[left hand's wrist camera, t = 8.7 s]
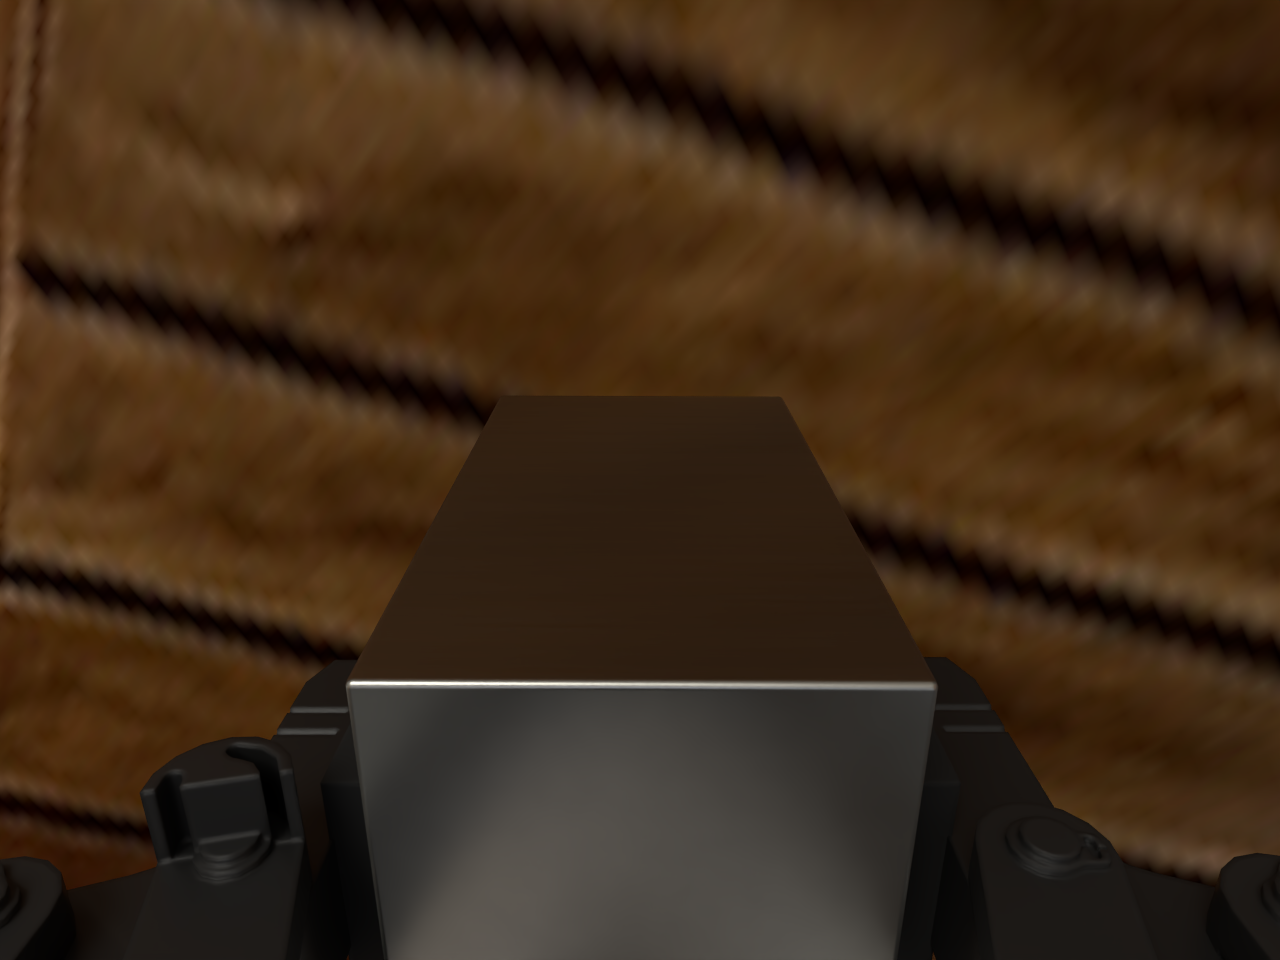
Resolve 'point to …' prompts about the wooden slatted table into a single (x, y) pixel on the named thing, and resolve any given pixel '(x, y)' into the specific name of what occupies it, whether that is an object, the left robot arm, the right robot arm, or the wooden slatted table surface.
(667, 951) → the bar
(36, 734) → the wooden slatted table surface
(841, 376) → the wooden slatted table surface
